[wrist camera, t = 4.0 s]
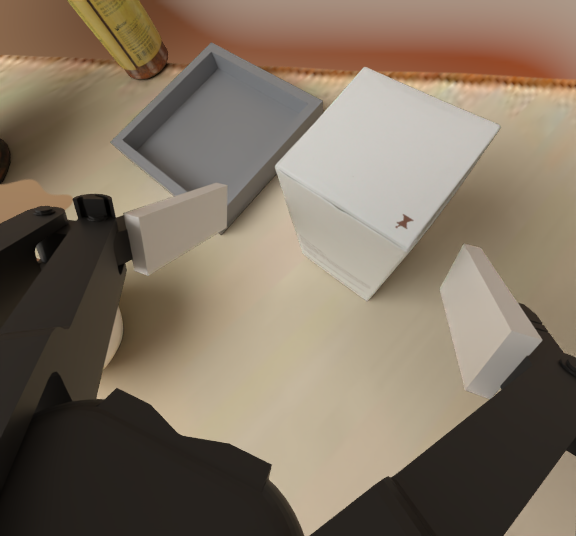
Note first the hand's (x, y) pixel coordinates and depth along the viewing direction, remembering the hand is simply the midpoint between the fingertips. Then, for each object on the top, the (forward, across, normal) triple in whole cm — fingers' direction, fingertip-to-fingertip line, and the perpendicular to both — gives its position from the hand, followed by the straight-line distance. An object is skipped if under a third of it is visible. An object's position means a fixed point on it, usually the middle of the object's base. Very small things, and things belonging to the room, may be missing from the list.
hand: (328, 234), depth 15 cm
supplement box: (+9, +2, -4) cm, 10 cm away
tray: (+14, -16, +2) cm, 21 cm away
